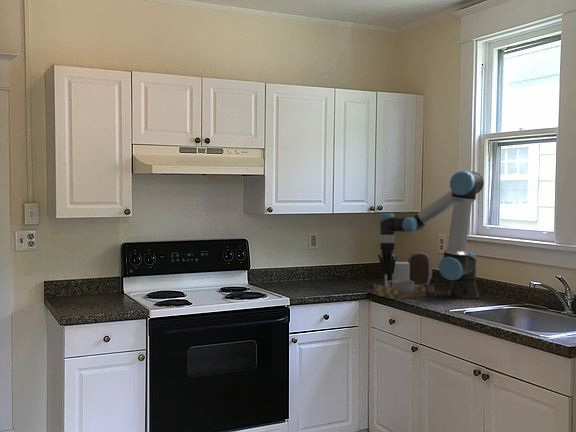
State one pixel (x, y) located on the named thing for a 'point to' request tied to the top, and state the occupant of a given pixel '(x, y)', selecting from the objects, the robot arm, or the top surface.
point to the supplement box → (401, 271)
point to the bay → (393, 293)
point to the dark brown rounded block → (420, 268)
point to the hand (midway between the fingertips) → (387, 286)
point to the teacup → (402, 285)
